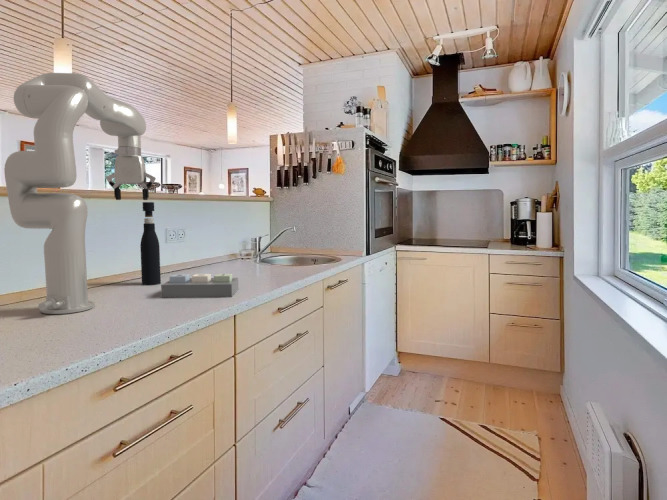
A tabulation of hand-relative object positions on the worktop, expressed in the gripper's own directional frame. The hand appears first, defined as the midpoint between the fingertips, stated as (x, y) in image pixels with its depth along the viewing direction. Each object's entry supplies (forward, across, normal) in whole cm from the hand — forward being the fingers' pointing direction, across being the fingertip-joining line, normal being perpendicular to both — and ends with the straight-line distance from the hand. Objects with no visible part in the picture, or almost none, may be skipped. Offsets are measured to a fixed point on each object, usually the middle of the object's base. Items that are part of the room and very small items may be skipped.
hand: (131, 199), depth 158 cm
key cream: (+28, +30, -25) cm, 48 cm away
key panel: (+31, +30, -25) cm, 50 cm away
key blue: (+28, +23, -24) cm, 44 cm away
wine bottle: (+31, +8, -5) cm, 32 cm away
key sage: (+28, +37, -25) cm, 52 cm away
